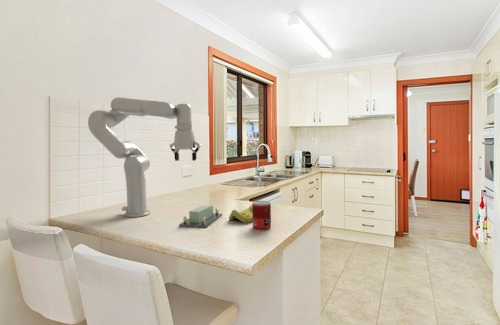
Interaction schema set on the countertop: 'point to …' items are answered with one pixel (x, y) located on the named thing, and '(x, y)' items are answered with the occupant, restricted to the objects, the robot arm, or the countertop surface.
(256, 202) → the canned food
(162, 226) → the countertop surface
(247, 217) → the plastic component
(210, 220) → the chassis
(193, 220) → the board block
